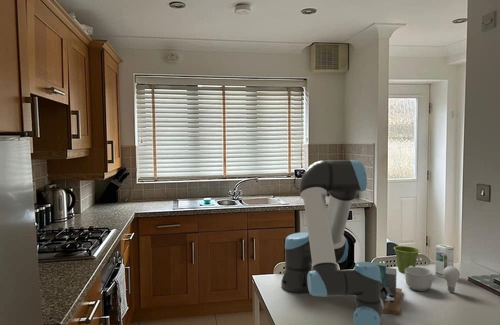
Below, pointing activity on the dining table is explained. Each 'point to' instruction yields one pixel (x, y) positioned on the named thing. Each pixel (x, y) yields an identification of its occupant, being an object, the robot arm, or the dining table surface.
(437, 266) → the syrup box
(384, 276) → the teal rectangular block
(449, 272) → the lightbulb
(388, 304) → the base board
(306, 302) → the dining table surface
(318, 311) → the dining table surface
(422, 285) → the teacup
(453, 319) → the dining table surface
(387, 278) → the grey rectangular block
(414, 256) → the plant pot
